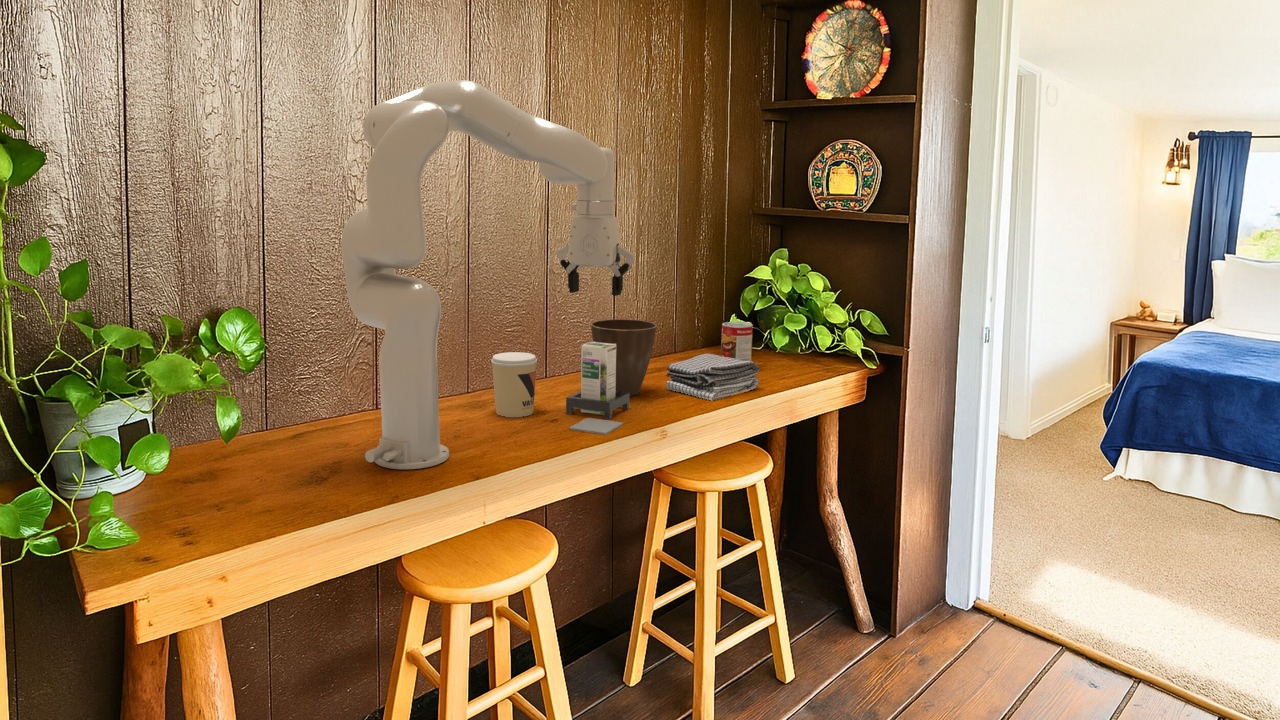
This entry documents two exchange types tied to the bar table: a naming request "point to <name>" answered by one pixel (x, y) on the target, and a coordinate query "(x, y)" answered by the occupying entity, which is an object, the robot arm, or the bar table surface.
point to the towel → (712, 376)
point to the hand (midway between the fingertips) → (595, 293)
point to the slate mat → (596, 426)
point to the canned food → (737, 340)
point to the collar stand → (598, 403)
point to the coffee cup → (514, 383)
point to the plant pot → (627, 349)
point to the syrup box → (598, 372)
